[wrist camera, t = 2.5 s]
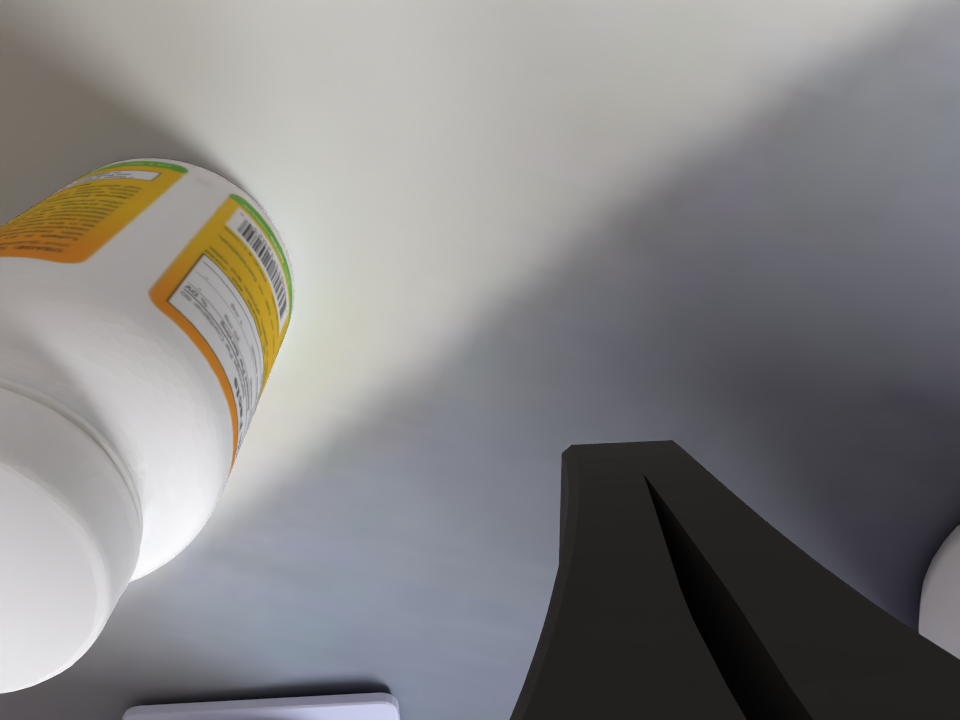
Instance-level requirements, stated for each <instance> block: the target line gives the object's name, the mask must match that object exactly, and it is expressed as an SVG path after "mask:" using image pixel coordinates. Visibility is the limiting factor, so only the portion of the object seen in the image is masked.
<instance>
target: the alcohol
mask: <svg viewBox="0 0 960 720" xmlns="http://www.w3.org/2000/svg"><path fill="white" fill-rule="evenodd" d="M919 634H920V635H922V636H924V637H925V638H927V639H928V640H930V641H932V642H933V643H935V644H936V645H938V646H939V647H941V648H943V649H944V650H946V651H947V652H949V653H951V654H952V655H954V656H955V657H957V658H958V659H960V524H959V525H958V526H957V527H956V528H955V529H954V530H953V531H952V532H951V533H950V535H949V536H948V537H947V538H946V539H945V540H944V542H943V543H942V545H941V547H940V548H939V550H938V551H937V553H936V554H935V556H934V557H933V559H932V560H931V563H930V566H929V568H928V571H927V573H926V576H925V578H924V581H923V586H922V593H921V599H920V613H919Z"/></svg>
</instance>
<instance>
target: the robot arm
mask: <svg viewBox="0 0 960 720" xmlns="http://www.w3.org/2000/svg"><path fill="white" fill-rule="evenodd" d="M122 720H400V715H399V705H398V701H397V699H396V698H395V697H394V696H392V695H390V694H388V693H362V694H344V695H325V696H307V697H289V698H271V699H253V700H234V701H216V702H198V703H180V704H162V705H143V706H135V707H131V708H129V709H128V710H126V712H125V713H124V715H123V718H122ZM510 720H960V659H958V658H957V657H955V656H954V655H952V654H951V653H949V652H947V651H946V650H944V649H943V648H941V647H939V646H938V645H936V644H935V643H933V642H932V641H930V640H928V639H927V638H925V637H924V636H922V635H920V634H919V633H917V632H916V631H914V630H913V629H911V628H909V627H908V626H906V625H905V624H903V623H902V622H900V621H899V620H897V619H896V618H894V617H893V616H891V615H890V614H888V613H887V612H885V611H884V610H882V609H881V608H880V607H878V606H877V605H875V604H874V603H872V602H871V601H869V600H868V599H867V598H865V597H864V596H863V595H861V594H860V593H859V592H857V591H856V590H854V589H853V588H852V587H850V586H849V585H848V584H846V583H845V582H844V581H842V580H841V579H839V578H838V577H837V576H835V575H834V574H833V573H831V572H830V571H828V570H827V569H826V568H824V567H823V566H822V565H820V564H819V563H818V562H817V561H815V560H814V559H813V558H811V557H810V556H809V555H807V554H806V553H805V552H804V551H802V550H801V549H800V548H798V547H797V546H796V545H795V544H793V543H792V542H791V541H790V540H788V539H787V538H786V537H785V536H783V535H782V534H781V533H780V532H779V531H777V530H776V529H775V528H774V527H772V526H771V525H770V524H769V523H768V522H766V521H765V520H764V519H763V518H762V517H760V516H759V515H758V514H757V513H756V512H754V511H753V510H752V509H751V508H750V507H749V506H747V505H746V504H745V503H744V502H743V501H742V500H740V499H739V498H738V497H737V496H736V495H735V494H733V493H732V492H731V491H730V490H729V489H728V488H727V487H725V486H724V485H723V484H722V483H721V482H720V481H719V480H717V479H716V478H715V477H714V476H713V475H712V474H711V473H710V472H708V471H707V470H706V469H705V468H704V467H703V466H702V465H700V464H699V463H698V462H697V461H696V460H695V459H694V458H693V457H691V456H690V455H689V454H688V453H687V452H686V451H684V450H683V449H682V448H681V447H680V446H679V445H677V444H676V443H675V442H674V441H672V440H671V441H649V442H627V443H605V444H583V445H571V446H570V447H569V448H568V449H567V450H565V451H564V452H563V453H562V468H561V507H560V546H559V567H558V571H557V576H556V580H555V584H554V588H553V592H552V596H551V600H550V604H549V608H548V612H547V615H546V619H545V622H544V626H543V629H542V632H541V635H540V639H539V642H538V645H537V648H536V651H535V654H534V657H533V660H532V663H531V665H530V668H529V671H528V674H527V677H526V680H525V682H524V685H523V688H522V691H521V693H520V695H519V698H518V700H517V703H516V705H515V708H514V710H513V713H512V715H511V718H510Z"/></svg>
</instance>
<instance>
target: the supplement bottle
mask: <svg viewBox="0 0 960 720" xmlns="http://www.w3.org/2000/svg"><path fill="white" fill-rule="evenodd" d="M293 300H294V280H293V273H292V267H291V263H290V259H289V256H288V253H287V250H286V248H285V245H284V243H283V241H282V239H281V236H280V234H279V233H278V231H277V229H276V228H275V226H274V225H273V223H272V221H271V220H270V219H269V217H268V216H267V214H266V213H265V212H264V211H263V210H262V209H261V208H260V206H259V205H258V204H257V203H256V202H255V201H254V200H253V199H252V198H251V197H249V196H248V195H247V194H246V193H245V192H244V191H242V190H241V189H240V188H238V187H237V186H236V185H234V184H233V183H231V182H229V181H228V180H226V179H225V178H223V177H221V176H219V175H217V174H215V173H213V172H211V171H209V170H206V169H204V168H201V167H198V166H195V165H192V164H188V163H185V162H180V161H176V160H169V159H159V158H140V159H130V160H123V161H119V162H114V163H111V164H108V165H105V166H103V167H100V168H98V169H95V170H93V171H91V172H89V173H87V174H85V175H84V176H81V177H80V178H78V179H76V180H75V181H73V182H72V183H70V184H68V185H67V186H65V187H64V188H62V189H60V190H58V191H57V192H55V193H54V194H52V195H51V196H50V197H48V198H47V199H45V200H43V201H42V202H40V203H39V204H37V205H35V206H34V207H32V208H31V209H29V210H27V211H26V212H24V213H22V214H21V215H19V216H18V217H16V218H14V219H13V220H11V221H9V222H8V223H6V224H5V225H3V226H1V227H0V693H7V692H13V691H17V690H21V689H24V688H28V687H31V686H34V685H36V684H39V683H41V682H43V681H46V680H48V679H50V678H52V677H54V676H56V675H58V674H60V673H61V672H63V671H64V670H66V669H67V668H69V667H70V666H72V665H73V664H74V663H75V662H76V661H77V660H78V659H79V658H81V657H82V656H83V655H84V654H85V653H86V651H87V650H88V649H89V648H90V647H91V646H92V644H93V643H94V642H95V641H96V639H97V638H98V636H99V635H100V633H101V631H102V630H103V628H104V626H105V624H106V622H107V621H108V619H109V617H110V615H111V613H112V611H113V609H114V608H115V606H116V604H117V602H118V600H119V599H120V597H121V595H122V594H123V592H124V591H125V589H126V587H127V586H128V584H129V582H131V581H134V580H136V579H139V578H141V577H143V576H145V575H147V574H149V573H151V572H152V571H154V570H156V569H157V568H159V567H161V566H162V565H164V564H165V563H167V562H169V561H170V560H171V559H173V558H174V557H175V556H176V555H177V554H179V553H180V552H181V551H182V550H183V549H184V548H185V547H186V546H187V545H188V544H189V543H190V542H191V541H192V540H193V539H194V538H195V537H196V535H197V534H198V533H199V532H200V531H201V529H202V528H203V527H204V525H205V523H206V522H207V520H208V519H209V517H210V516H211V514H212V512H213V510H214V508H215V506H216V504H217V502H218V500H219V498H220V496H221V494H222V492H223V490H224V487H225V485H226V483H227V480H228V477H229V475H230V473H231V470H232V468H233V465H234V462H235V459H236V457H237V454H238V452H239V449H240V446H241V444H242V442H243V439H244V437H245V434H246V432H247V429H248V427H249V424H250V422H251V419H252V417H253V414H254V412H255V410H256V407H257V404H258V401H259V399H260V397H261V394H262V392H263V389H264V387H265V384H266V382H267V379H268V377H269V374H270V371H271V369H272V366H273V364H274V362H275V359H276V356H277V354H278V352H279V349H280V347H281V344H282V342H283V339H284V337H285V334H286V331H287V328H288V325H289V322H290V318H291V314H292V309H293Z"/></svg>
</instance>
